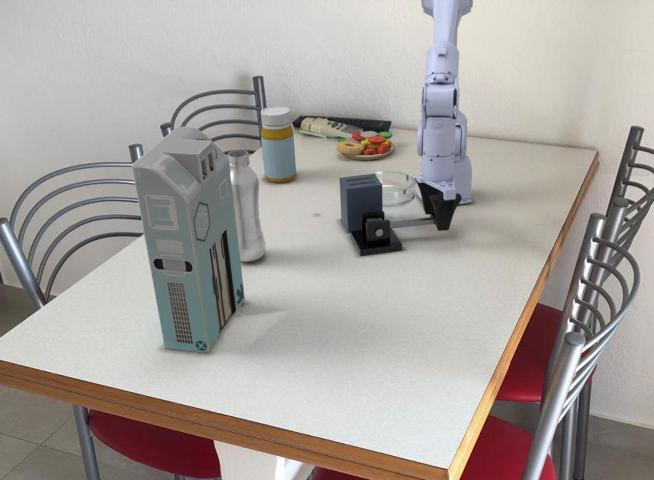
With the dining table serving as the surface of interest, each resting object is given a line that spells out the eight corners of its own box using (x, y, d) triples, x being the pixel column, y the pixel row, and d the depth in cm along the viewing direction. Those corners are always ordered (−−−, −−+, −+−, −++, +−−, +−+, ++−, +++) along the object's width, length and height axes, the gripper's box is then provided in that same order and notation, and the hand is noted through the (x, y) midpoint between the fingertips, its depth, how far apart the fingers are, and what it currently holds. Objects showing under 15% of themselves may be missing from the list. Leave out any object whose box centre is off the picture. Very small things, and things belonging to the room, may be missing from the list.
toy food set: (333, 161, 200) (332, 147, 198) (342, 141, 210) (341, 128, 208) (390, 162, 198) (390, 148, 196) (397, 142, 208) (397, 128, 206)
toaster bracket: (390, 231, 168) (390, 205, 165) (402, 250, 161) (402, 223, 158) (350, 236, 167) (349, 211, 164) (360, 255, 160) (359, 229, 157)
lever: (435, 220, 167) (435, 208, 165) (443, 231, 163) (444, 219, 161) (364, 227, 164) (364, 215, 163) (371, 238, 160) (371, 226, 159)
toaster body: (375, 216, 174) (374, 172, 169) (382, 228, 169) (382, 184, 164) (341, 220, 173) (339, 177, 168) (347, 233, 168) (346, 188, 163)
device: (210, 354, 134) (182, 168, 117) (164, 348, 136) (130, 165, 119) (245, 302, 147) (225, 128, 130) (203, 298, 149) (178, 125, 132)
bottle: (300, 173, 194) (296, 106, 186) (289, 185, 189) (284, 117, 180) (272, 170, 196) (266, 104, 188) (260, 182, 191) (253, 114, 182)
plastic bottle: (273, 252, 162) (263, 149, 151) (255, 268, 157) (244, 162, 146) (243, 247, 165) (231, 144, 153) (225, 262, 160) (211, 158, 148)
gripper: (406, 141, 161) (405, 209, 169) (429, 168, 150) (427, 240, 157) (442, 136, 162) (440, 204, 170) (468, 163, 151) (464, 235, 159)
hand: (436, 221), depth 164 cm, fingers open, 7 cm apart
